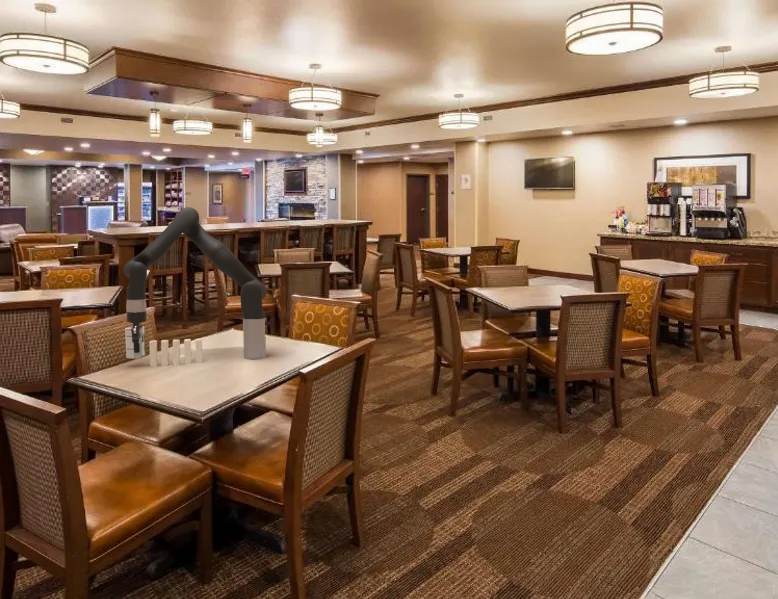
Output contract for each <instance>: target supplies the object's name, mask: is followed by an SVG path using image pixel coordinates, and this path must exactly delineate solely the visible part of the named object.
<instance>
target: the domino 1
mask: <svg viewBox="0 0 778 599" xmlns="http://www.w3.org/2000/svg"><path fill="white" fill-rule="evenodd" d="M135 340H137V338H135ZM134 358H139V359H141V358H143V357H142V341H141V338H140V352H139V353H134Z"/></svg>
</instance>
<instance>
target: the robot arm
mask: <svg viewBox="0 0 778 599" xmlns="http://www.w3.org/2000/svg"><path fill="white" fill-rule="evenodd" d="M182 234H184V236H186V238H188V239H189V240H190V241H191V242H193V243H194V244H195V245H196V246H197V248H198V249H199V250H200V251H201V253H202V254H204V256H206V258H207V259H208V260H209V261H210V262H211V263H212V265H213V266H214V267H216V269H218V270H219V271H220V272H221V273H223V274H224V275H226V276H227V277H228V278H230V279H232V280H233V281H234V282H235V283H237V285H239V287H240V288H241V289H240V294H239V295H240V307H241V308H240V310H241V313H242V330H243V331H242V336H243V337H242V339H243V341H242V342H243V358H244V359H246V360H260V359H265V358H267V348H266V345H267V344H266V343H267V342H266V322H265V320H266V316H265V315H266V312H265V310H263V300H264V299H265V298H266V296H267V287H266V286H265V284H263V282H261V281H260V280H259V278H257V277H255V276H254V275H253V274H252V273H251V272H250V271H249V270H248V269H247V268H246V267H245V266H244V264H243V263H242V262H241V261H240V260H239V259H238V257H236V255H235V254H234V253H233V252H232V251H231V250H230V249H229V248H228V247H227V246H226V244H224V243H223V242H222V241H220V240H218V239H217V238H214V237H213V236H212V235H210V234H208V232H207V231H206V230H205V229H204V227H203V226H202V225H201V224H200V214H199V212H198V211H197V210H196V209H195V208H194V207H190V206H189V207H188V206H186V207H184V208H181V209H180V210H179V211H178V212H177V214H176V215H175V217H174V218H173V219H172V221H171V222H170V223H169V224H168V226H167V227H165V229H164V230H163V231H162V232H161V233H160V234H159V235H158V236H156V238H155V239H154V240H153V241H152V242H150V243H149V244H148V245H147V246H146V247H145V248H144V249H143V250H142V251H141V252H140V253H139V254H137V255H135V256H133V258H132V259H130V260H129V261H127V262H126V264H125V265H124V267H123V274H124V275H125V277H126V278H128V279H129V284H128V286H127V288H126V303H125V304H126V322H127V323H129V324H132V326H130V327H131V331H132V343H133V344H134V353H139V352H140V338H141V341H142V338H143V337H142V335H143V332H142V330H143V326H144V325H143V324H142V323H146V322H147V320H148V318H147V315H148V314H147V302H146V285H147V279H148V277H147V276H148V270H147V269H148V268H149V267H151V266H152V265H154V264H156V263H157V262H159V261H160V260H161V259H162V258H163V257H164V256H165V255H166V254H167V253H168V251H169V250H170V249H171V248H172V246H173V244H174V243H175V242H176V241H177V239H178V238H179V237H180V236H181V235H182ZM135 338H137V340H135Z"/></svg>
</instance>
